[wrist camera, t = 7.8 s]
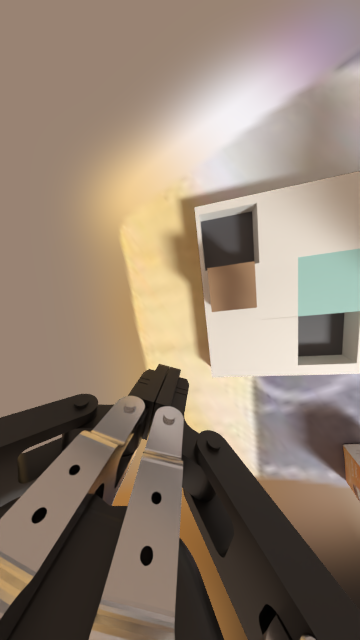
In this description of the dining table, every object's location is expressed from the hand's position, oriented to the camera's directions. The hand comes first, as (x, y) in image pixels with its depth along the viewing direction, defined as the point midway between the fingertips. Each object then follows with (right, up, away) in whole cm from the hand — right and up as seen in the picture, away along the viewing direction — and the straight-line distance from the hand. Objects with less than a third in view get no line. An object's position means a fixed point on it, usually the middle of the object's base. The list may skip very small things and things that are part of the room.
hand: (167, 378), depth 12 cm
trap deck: (+15, +8, +14) cm, 22 cm away
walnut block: (+7, +9, +12) cm, 17 cm away
